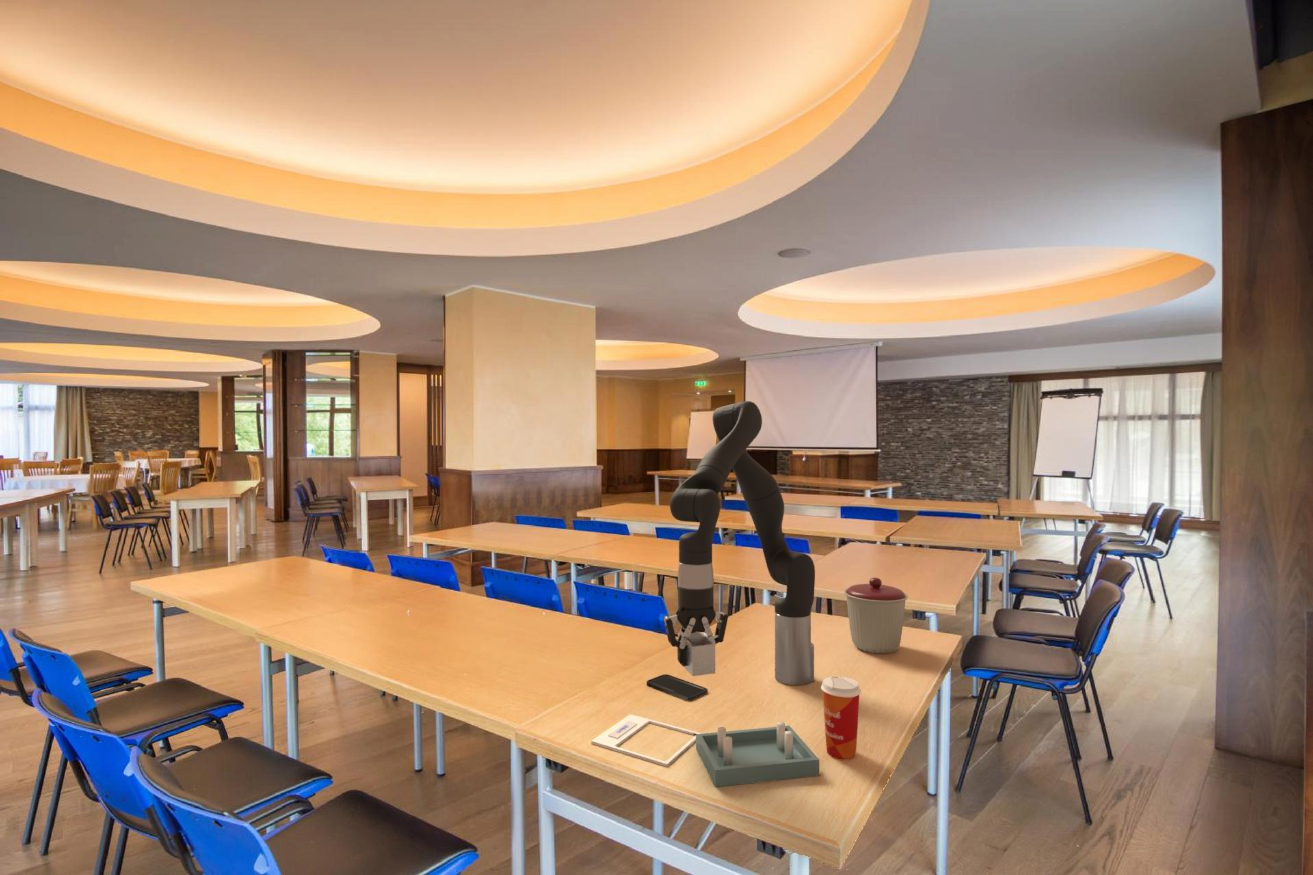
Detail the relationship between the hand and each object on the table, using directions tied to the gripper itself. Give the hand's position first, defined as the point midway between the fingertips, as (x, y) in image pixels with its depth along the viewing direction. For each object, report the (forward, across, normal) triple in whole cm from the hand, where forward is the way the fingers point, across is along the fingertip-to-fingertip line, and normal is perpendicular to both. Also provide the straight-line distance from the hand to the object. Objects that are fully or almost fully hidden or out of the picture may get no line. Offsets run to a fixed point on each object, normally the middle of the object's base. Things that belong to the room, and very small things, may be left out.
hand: (696, 663), depth 131 cm
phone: (+16, -3, -25) cm, 30 cm away
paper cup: (+16, -26, +14) cm, 33 cm away
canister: (+16, -69, -40) cm, 81 cm away
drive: (+1, 0, 0) cm, 1 cm away
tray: (+15, -8, +13) cm, 21 cm away
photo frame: (+16, +10, -1) cm, 19 cm away
